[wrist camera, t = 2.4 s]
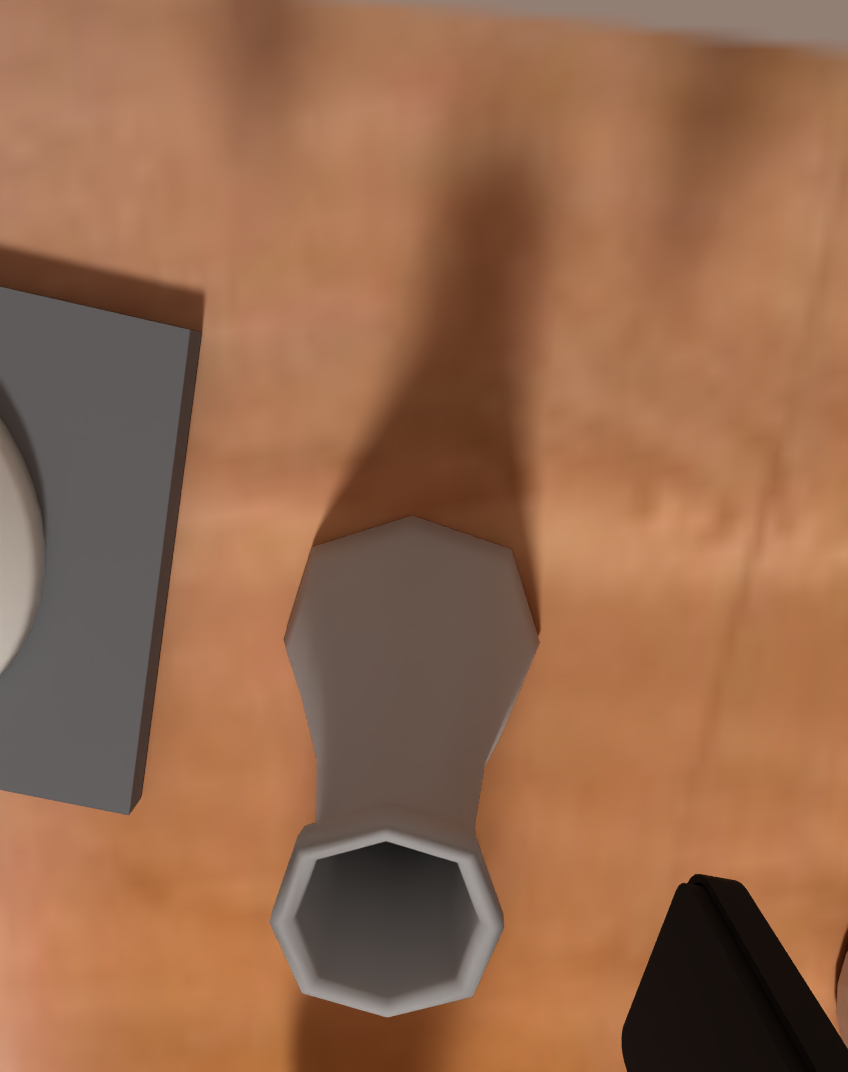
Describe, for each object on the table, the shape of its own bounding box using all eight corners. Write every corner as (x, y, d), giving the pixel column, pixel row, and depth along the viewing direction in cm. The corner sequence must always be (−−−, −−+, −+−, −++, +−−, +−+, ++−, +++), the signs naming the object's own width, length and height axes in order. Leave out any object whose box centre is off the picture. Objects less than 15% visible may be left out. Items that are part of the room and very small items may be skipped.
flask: (280, 511, 18) (89, 677, 8) (545, 514, 17) (683, 686, 8) (291, 747, 19) (146, 1121, 10) (532, 751, 19) (631, 1133, 10)
